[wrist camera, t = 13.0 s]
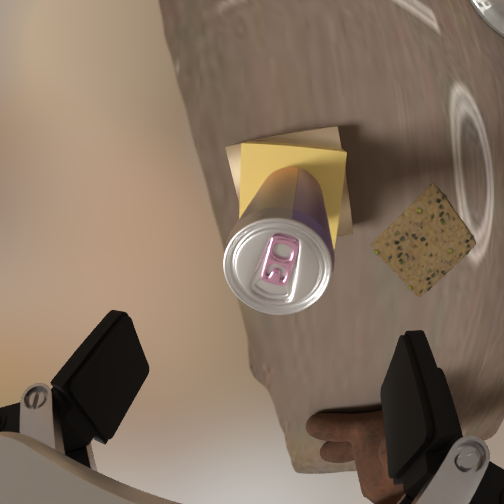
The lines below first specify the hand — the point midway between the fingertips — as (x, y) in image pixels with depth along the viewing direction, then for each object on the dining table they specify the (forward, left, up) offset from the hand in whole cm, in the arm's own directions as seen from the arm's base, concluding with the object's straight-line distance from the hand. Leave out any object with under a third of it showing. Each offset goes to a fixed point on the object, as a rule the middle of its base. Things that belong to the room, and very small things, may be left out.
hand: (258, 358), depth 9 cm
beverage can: (0, 0, -21) cm, 21 cm away
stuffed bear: (+48, +17, -27) cm, 58 cm away
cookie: (+7, +18, -28) cm, 34 cm away
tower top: (0, 0, -24) cm, 24 cm away
